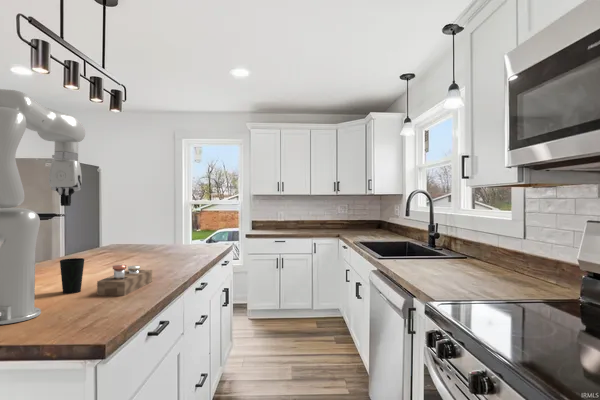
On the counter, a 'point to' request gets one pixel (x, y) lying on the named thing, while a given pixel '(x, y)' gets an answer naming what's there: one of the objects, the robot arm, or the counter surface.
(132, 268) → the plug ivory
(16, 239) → the robot arm
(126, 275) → the socket block
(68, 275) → the cup
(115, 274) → the plug red
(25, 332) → the counter surface
